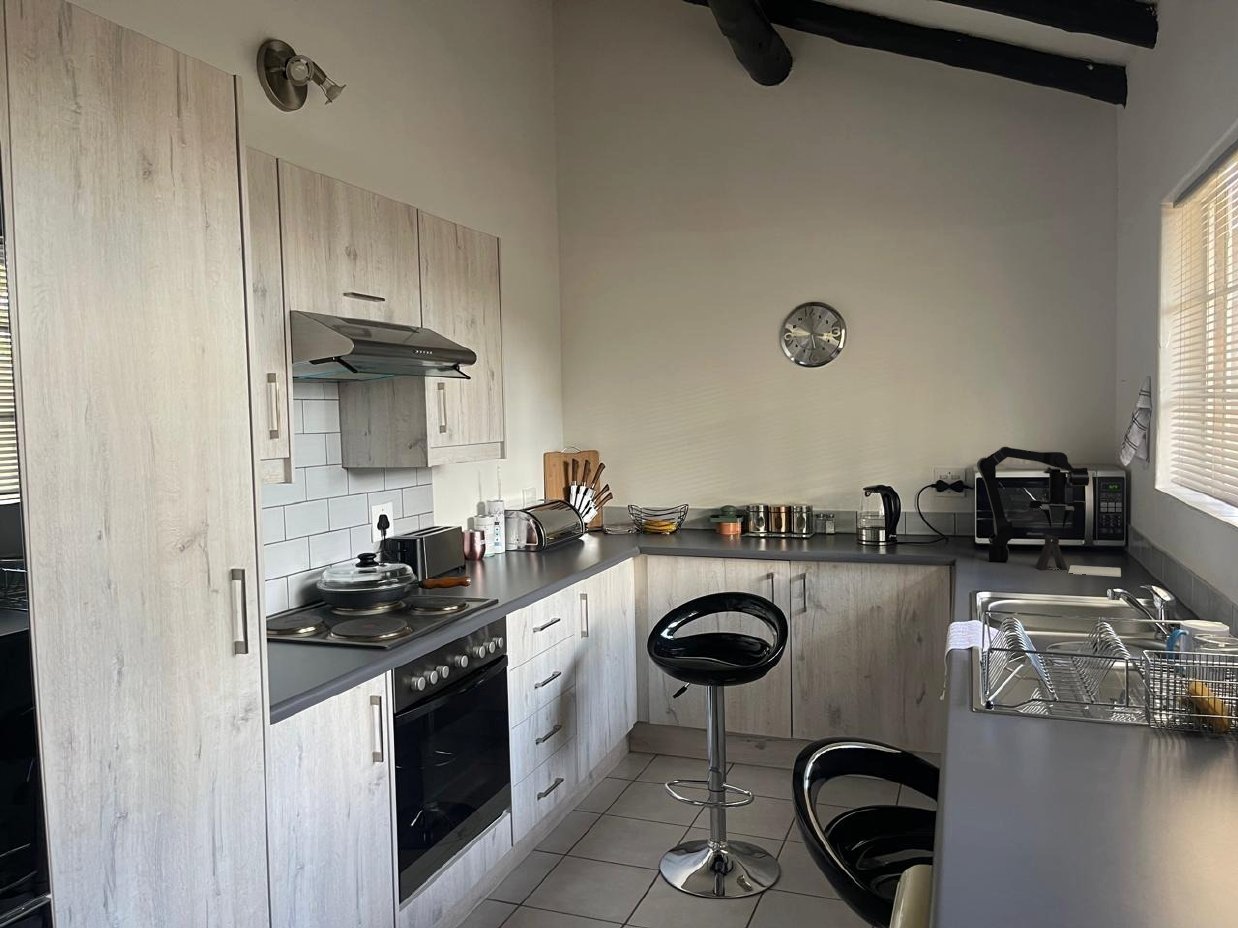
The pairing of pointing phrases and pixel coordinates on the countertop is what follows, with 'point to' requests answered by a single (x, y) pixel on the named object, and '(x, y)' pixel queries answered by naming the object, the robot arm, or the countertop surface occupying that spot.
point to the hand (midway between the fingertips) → (1057, 527)
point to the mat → (1095, 570)
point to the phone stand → (1046, 553)
